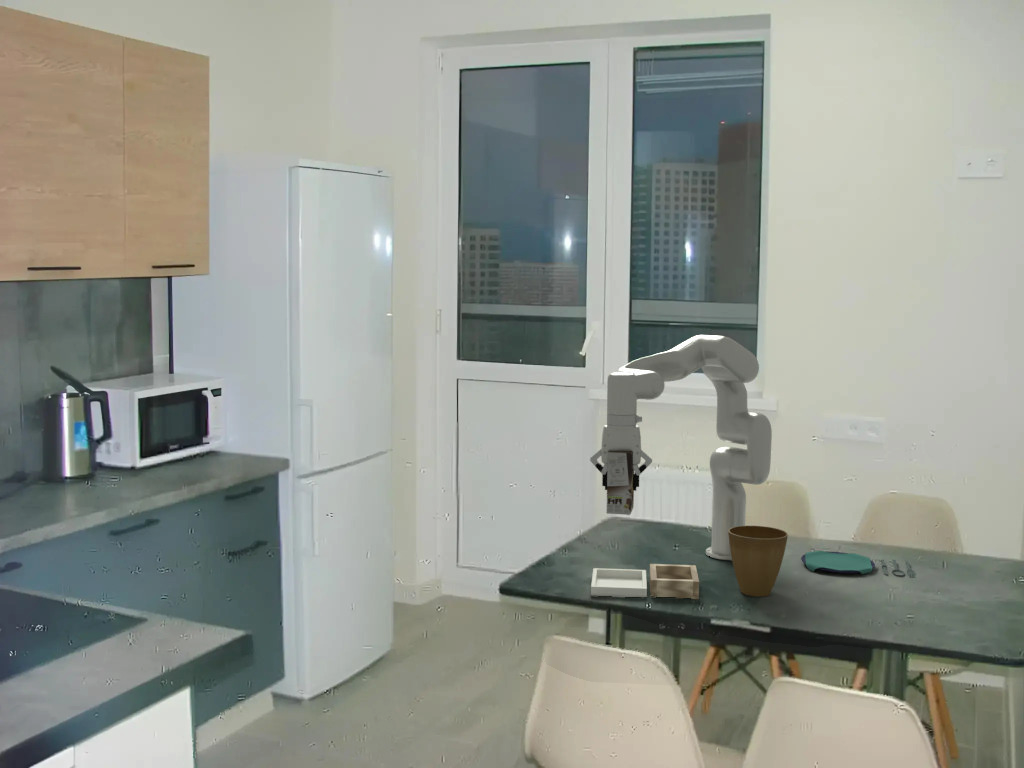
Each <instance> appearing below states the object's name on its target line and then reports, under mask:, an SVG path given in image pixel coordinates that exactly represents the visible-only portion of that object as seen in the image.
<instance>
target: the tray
mask: <svg viewBox="0 0 1024 768" xmlns="http://www.w3.org/2000/svg"><path fill="white" fill-rule="evenodd" d="M591 576H592V578H591V584H590V596H591V597H598V596H612V597H611V598H625V597H648V593H647V592H648V586H647V585H648V583H647V569H627V568H624V569H623V568H600V567H599V568H598V567H597V568H596V567H595V568H594V567H593V569H592V575H591Z"/></svg>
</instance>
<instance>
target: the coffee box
mask: <svg viewBox="0 0 1024 768" xmlns="http://www.w3.org/2000/svg"><path fill="white" fill-rule="evenodd" d="M634 474H635V471H634V469H633V451H608V463H607V490H606V514H609V515H611V514H612V515H626V516H630V515H631V514H632V512H633V510H634V506H635V505H634V499H635V497H634V496H635V491H634Z"/></svg>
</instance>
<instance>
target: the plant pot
mask: <svg viewBox="0 0 1024 768" xmlns="http://www.w3.org/2000/svg"><path fill="white" fill-rule="evenodd" d="M728 535H729V544H730V551H731V557H732V560H731V562H732V566H733V570H734V574H735V578H736V581H737V584H738V588H739V590H740V592H741V594H743V595H745V596H749V597H761V598H762V597H767V596H770V595H771V592H772V590H773V588H774V586H775V583H776V581H777V578H778V575H779V573H780V570H781V567H782V564H783V559H784V555H785V551H786V546H787V541H788V537H789V533H788V532H787V531H786V530H783V529H780V528H776V527H770V526H764V525H745V526H737V527H732V528H730V529H729V530H728Z"/></svg>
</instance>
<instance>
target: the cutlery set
mask: <svg viewBox="0 0 1024 768" xmlns="http://www.w3.org/2000/svg"><path fill="white" fill-rule="evenodd" d="M800 560H801V561H802V563H804V564H805V565H806V567H807V569H808V570H809V571H811V572H814V571H815V570H816V569H818V570H823V571H827V572H833V573H839V574H840V573H844V574H855V573H856V574H858V573H861V575H863V574H864V575H865V574H870V573H871V572H872V571H873V569H875V565H876V564H875V562H874V561H873V560H871V558H870V557H867V556H864V555H861V554H858V553H855V552H854V553H851V552H849V553H847V552H841V551H824V550H813V551H808V552H805V553H804V554H802V555H801V558H800ZM884 560H885V559H881V560H880V562H881V563H882V564H881V565H882V571H883V574H884V576H889V574H888V570H887V568H888V565H887V564H885V561H884ZM892 563H893V565H894V567H895V569H893V570H892V571H891V573H892V574H893V575H894V576H897V577H902V576H904V575H905V572H904V571H903V570H901V569H899V568H898V563H897V560H896V559H892ZM905 565H906V568H907V570H906V574H907V575H908V578H914V579H916V575H915V573H916V571H915V570H913V569H912V568H911V565H910V562H909V560H905ZM896 573H901V575H900V574H896Z"/></svg>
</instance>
